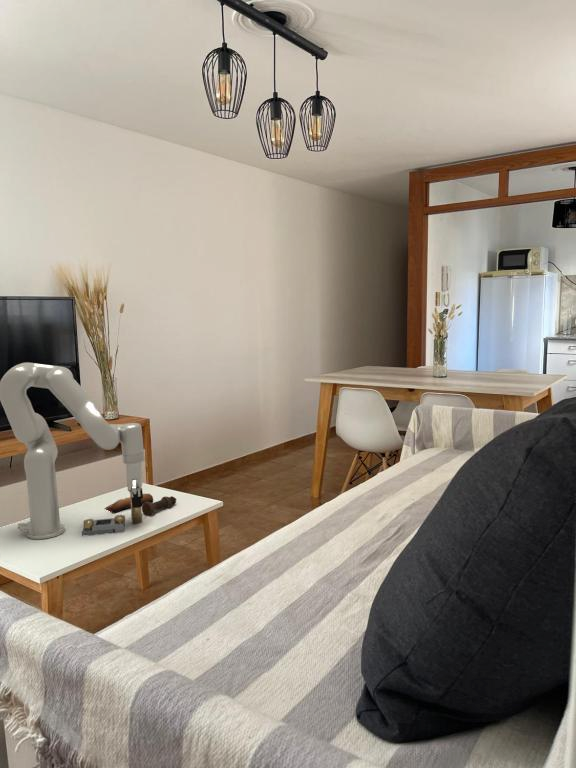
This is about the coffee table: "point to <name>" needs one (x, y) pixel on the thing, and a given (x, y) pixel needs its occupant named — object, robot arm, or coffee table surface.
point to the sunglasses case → (127, 503)
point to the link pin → (135, 512)
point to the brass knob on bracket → (104, 525)
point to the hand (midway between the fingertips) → (137, 503)
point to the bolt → (157, 505)
